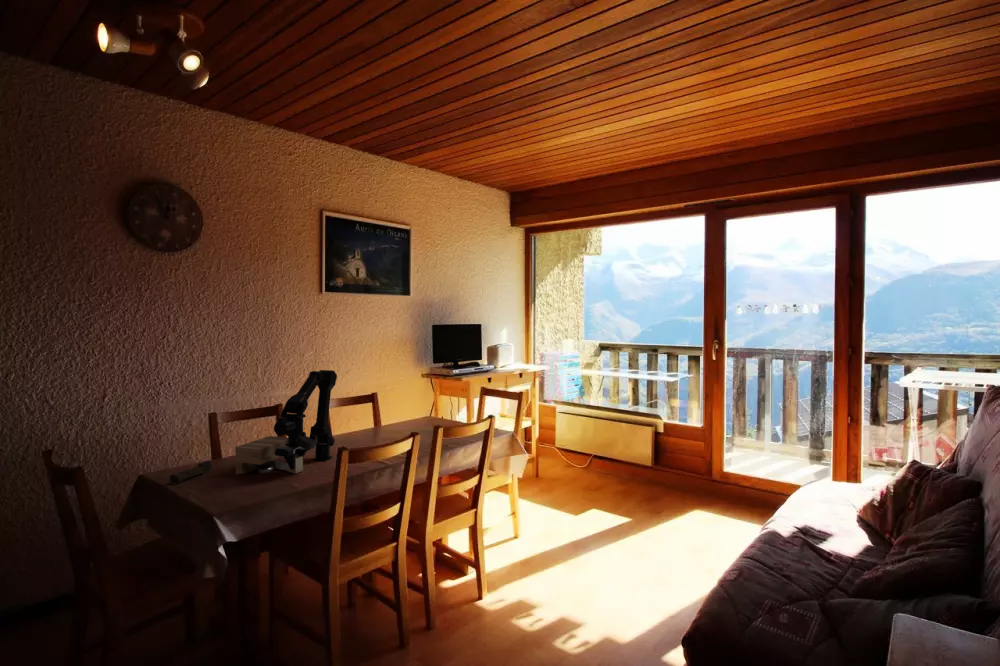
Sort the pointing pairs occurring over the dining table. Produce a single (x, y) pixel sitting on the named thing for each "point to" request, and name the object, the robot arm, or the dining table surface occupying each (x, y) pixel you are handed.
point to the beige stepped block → (257, 453)
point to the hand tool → (191, 472)
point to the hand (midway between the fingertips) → (295, 468)
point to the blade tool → (284, 466)
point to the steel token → (265, 468)
